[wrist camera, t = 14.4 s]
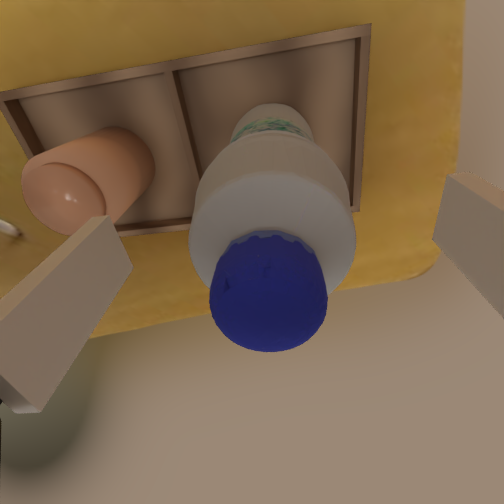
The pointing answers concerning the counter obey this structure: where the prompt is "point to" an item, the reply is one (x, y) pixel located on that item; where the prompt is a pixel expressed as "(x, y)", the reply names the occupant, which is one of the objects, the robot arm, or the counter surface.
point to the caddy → (205, 112)
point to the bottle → (271, 231)
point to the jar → (87, 178)
